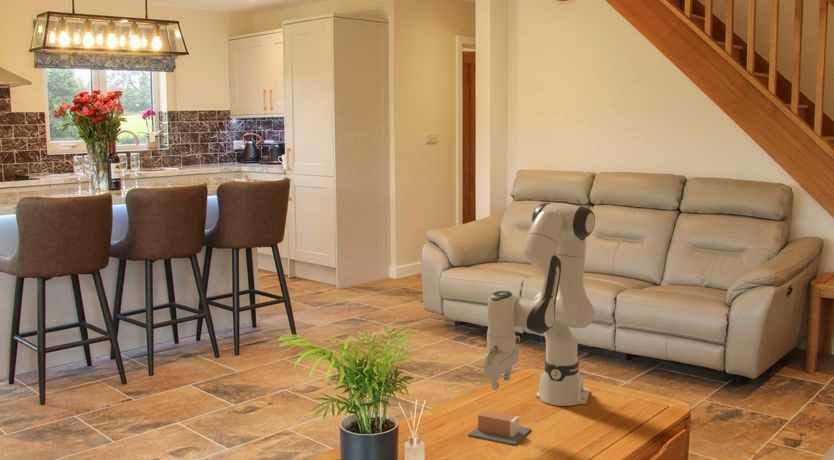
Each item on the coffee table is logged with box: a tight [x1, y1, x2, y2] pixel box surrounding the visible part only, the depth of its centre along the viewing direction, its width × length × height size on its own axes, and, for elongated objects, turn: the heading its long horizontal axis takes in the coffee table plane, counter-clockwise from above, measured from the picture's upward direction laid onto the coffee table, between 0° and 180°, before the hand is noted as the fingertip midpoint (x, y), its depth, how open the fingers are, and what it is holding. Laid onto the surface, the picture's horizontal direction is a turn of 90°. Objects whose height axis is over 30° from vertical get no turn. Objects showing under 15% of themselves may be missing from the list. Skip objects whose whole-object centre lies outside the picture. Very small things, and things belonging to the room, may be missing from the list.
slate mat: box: [467, 425, 532, 446], centre depth 255 cm, size 14×16×1 cm
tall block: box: [477, 410, 520, 437], centre depth 255 cm, size 5×5×12 cm
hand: (501, 384), depth 253 cm, fingers open, 8 cm apart
